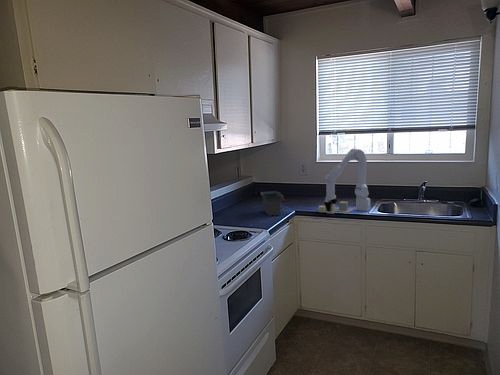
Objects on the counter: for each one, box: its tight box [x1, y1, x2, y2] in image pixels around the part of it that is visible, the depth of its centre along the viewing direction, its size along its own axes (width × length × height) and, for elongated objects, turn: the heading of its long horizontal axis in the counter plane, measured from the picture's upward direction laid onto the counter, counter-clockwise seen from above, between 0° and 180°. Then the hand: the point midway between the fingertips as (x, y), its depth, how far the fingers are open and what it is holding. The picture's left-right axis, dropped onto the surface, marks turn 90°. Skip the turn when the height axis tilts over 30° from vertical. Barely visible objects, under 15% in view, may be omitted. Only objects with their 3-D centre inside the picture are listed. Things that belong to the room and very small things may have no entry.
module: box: [325, 204, 336, 215], centre depth 265 cm, size 5×4×6 cm
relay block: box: [317, 205, 326, 213], centre depth 269 cm, size 4×4×4 cm
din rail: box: [322, 200, 354, 213], centre depth 272 cm, size 22×8×6 cm, turn 55°
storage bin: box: [260, 190, 285, 217], centre depth 271 cm, size 21×16×14 cm
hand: (330, 210), depth 265 cm, fingers open, 7 cm apart
